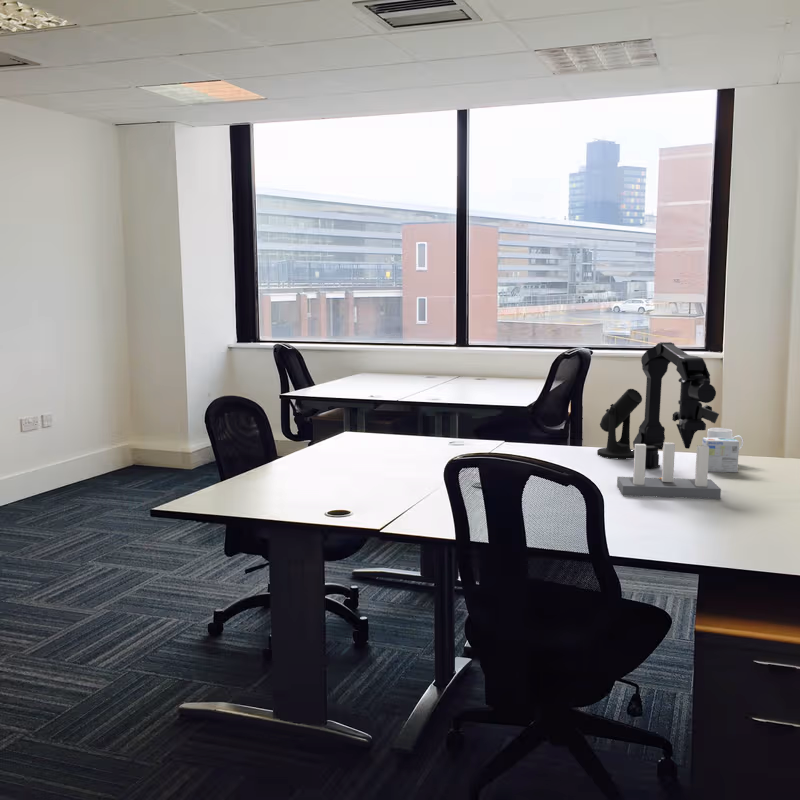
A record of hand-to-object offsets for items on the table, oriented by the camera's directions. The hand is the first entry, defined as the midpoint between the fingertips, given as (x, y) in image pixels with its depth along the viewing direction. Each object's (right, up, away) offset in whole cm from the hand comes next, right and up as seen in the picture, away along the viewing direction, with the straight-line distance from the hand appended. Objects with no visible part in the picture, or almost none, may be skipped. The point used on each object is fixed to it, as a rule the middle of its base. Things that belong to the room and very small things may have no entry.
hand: (687, 448), depth 259 cm
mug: (+26, -7, +37) cm, 45 cm away
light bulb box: (+19, -9, +24) cm, 32 cm away
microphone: (-9, -5, +48) cm, 49 cm away
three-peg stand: (-8, -13, -6) cm, 16 cm away
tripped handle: (-8, -10, -6) cm, 14 cm away
